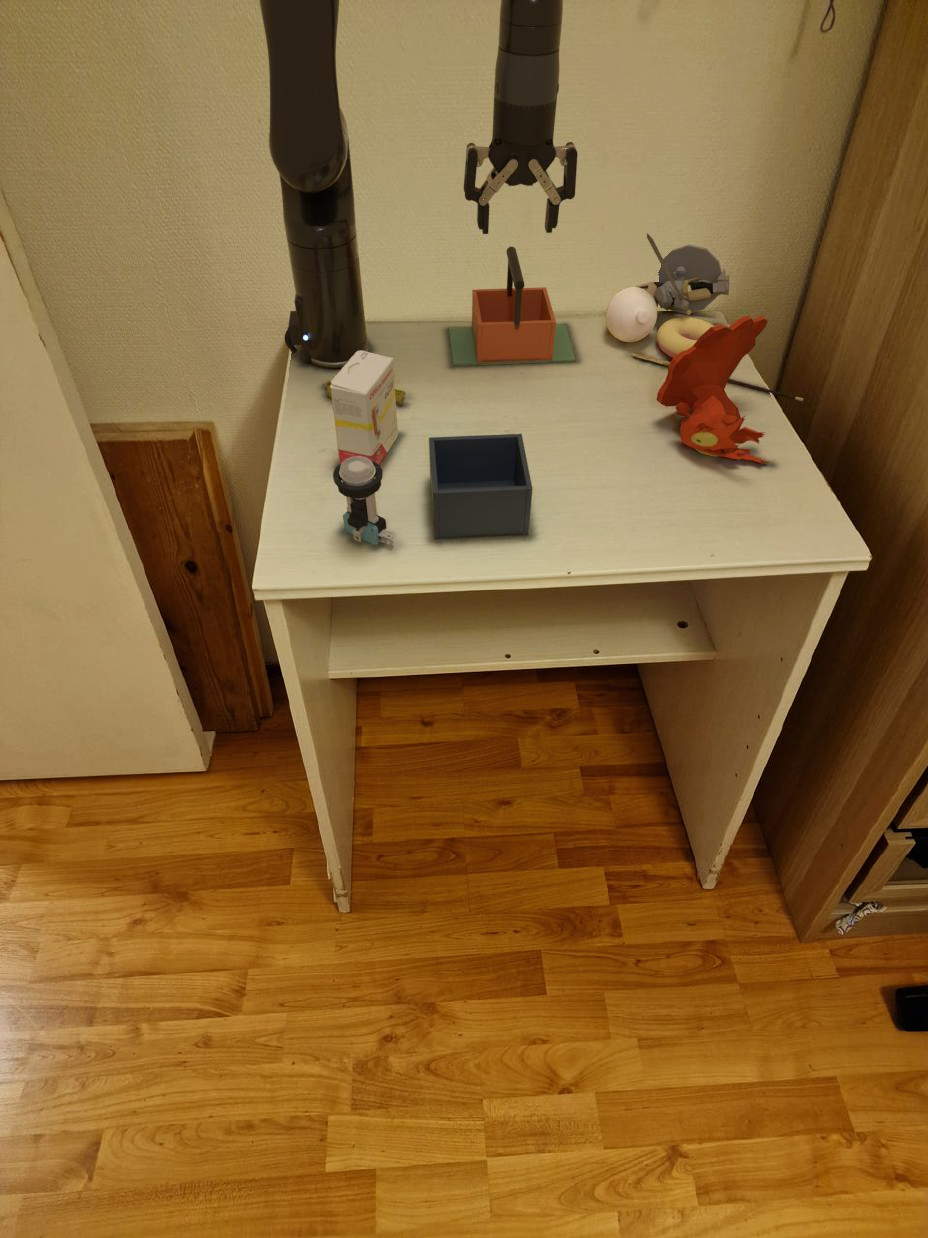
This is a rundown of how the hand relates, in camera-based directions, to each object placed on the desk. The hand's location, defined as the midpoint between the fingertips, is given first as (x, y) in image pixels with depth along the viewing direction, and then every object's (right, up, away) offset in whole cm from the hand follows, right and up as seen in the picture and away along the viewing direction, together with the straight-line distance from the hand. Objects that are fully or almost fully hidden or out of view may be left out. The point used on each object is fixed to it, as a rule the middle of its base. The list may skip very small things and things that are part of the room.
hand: (516, 230), depth 107 cm
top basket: (0, -11, +13) cm, 17 cm away
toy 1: (+30, -1, +8) cm, 31 cm away
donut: (+23, -13, +10) cm, 28 cm away
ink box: (-19, -30, -4) cm, 36 cm away
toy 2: (+24, -18, -3) cm, 31 cm away
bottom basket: (-5, -39, -11) cm, 41 cm away
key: (-21, -21, +4) cm, 30 cm away
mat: (0, -11, +13) cm, 17 cm away
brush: (+18, -13, +11) cm, 24 cm away
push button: (-18, -43, -14) cm, 48 cm away
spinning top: (+16, -4, +18) cm, 25 cm away
